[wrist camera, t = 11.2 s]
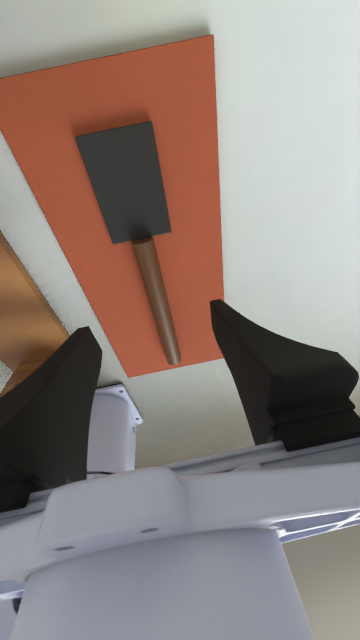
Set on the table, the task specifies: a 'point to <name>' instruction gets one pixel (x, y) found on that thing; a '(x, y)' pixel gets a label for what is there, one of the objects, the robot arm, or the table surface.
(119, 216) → the spatula
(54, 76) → the mat
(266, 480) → the robot arm
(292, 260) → the table surface
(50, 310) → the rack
